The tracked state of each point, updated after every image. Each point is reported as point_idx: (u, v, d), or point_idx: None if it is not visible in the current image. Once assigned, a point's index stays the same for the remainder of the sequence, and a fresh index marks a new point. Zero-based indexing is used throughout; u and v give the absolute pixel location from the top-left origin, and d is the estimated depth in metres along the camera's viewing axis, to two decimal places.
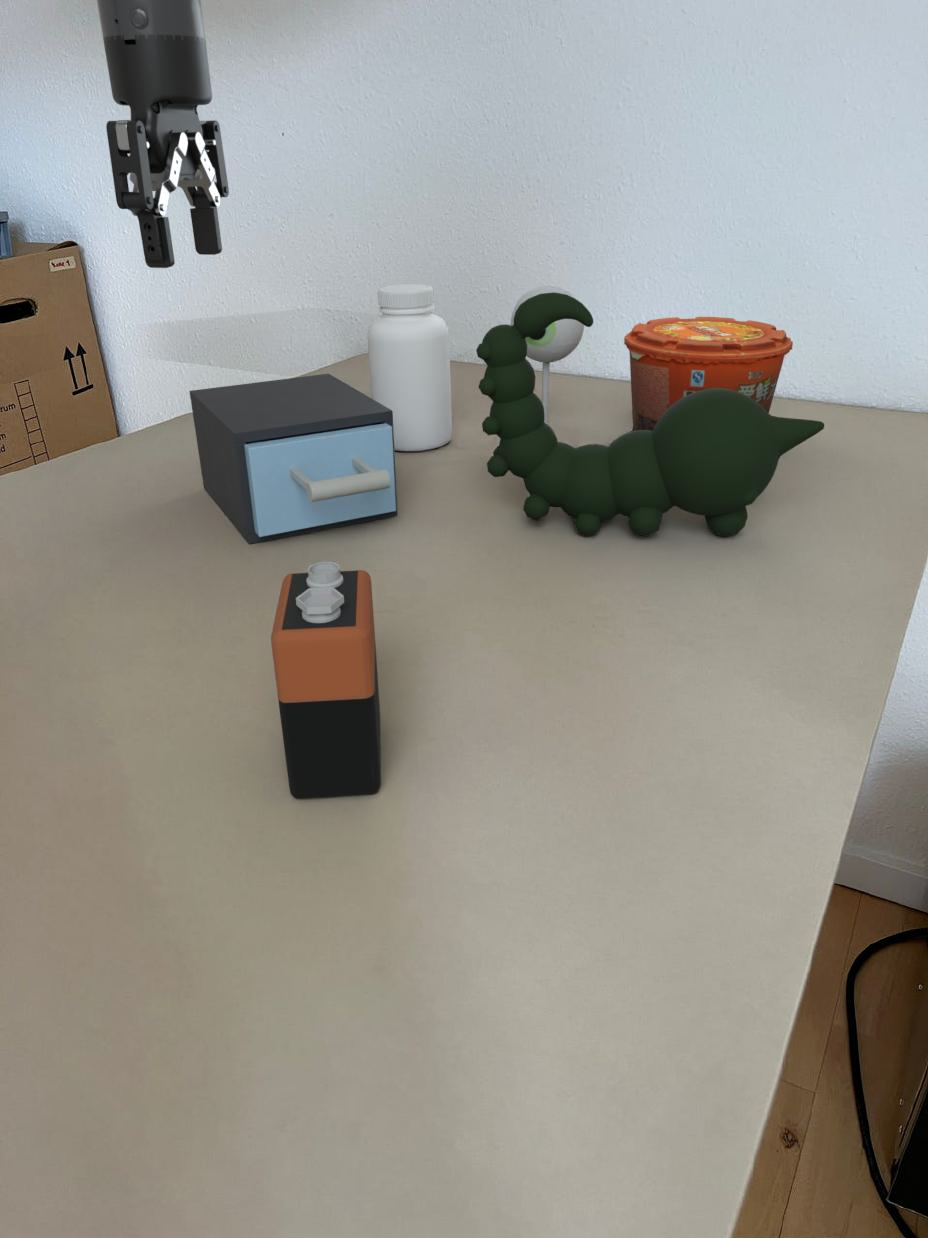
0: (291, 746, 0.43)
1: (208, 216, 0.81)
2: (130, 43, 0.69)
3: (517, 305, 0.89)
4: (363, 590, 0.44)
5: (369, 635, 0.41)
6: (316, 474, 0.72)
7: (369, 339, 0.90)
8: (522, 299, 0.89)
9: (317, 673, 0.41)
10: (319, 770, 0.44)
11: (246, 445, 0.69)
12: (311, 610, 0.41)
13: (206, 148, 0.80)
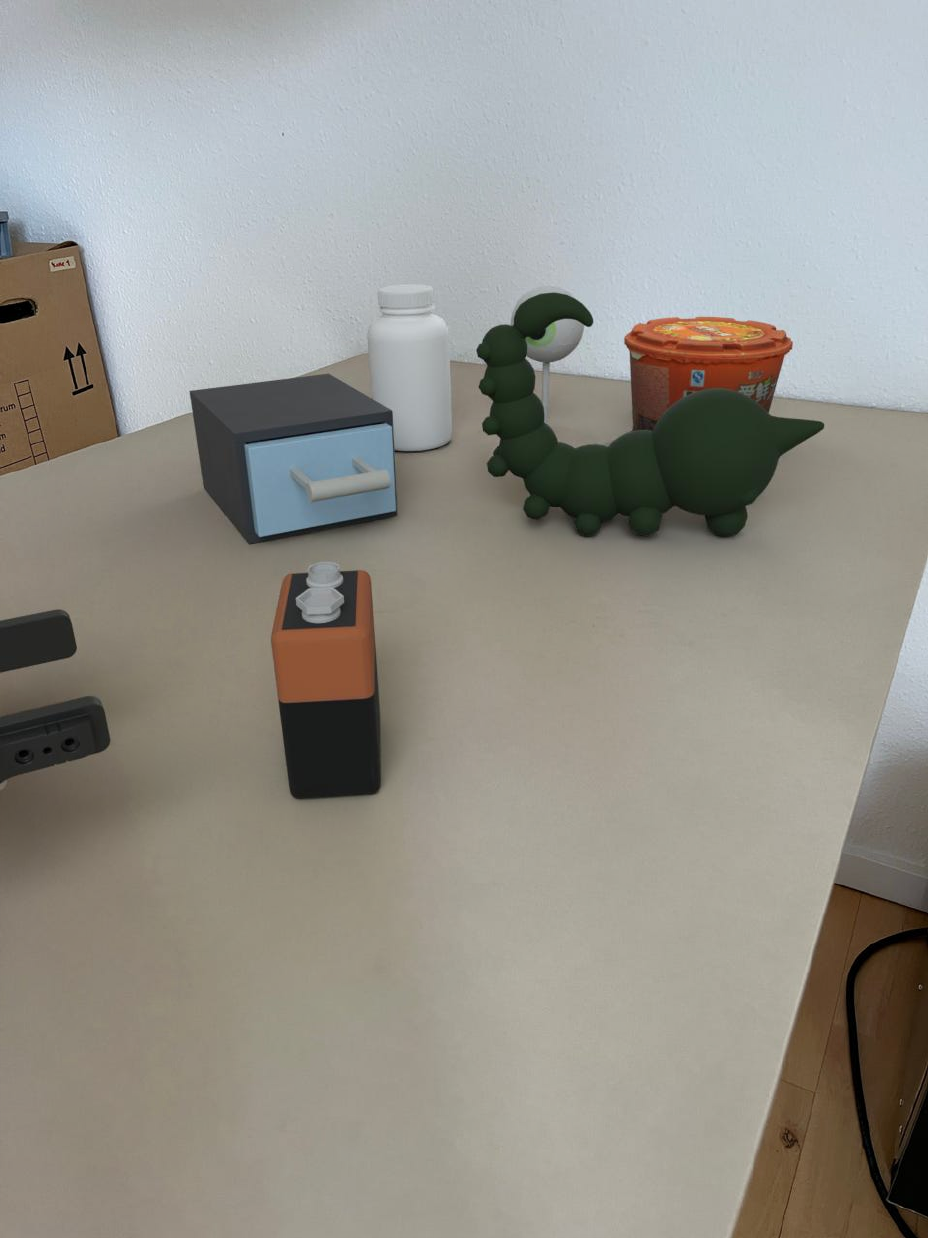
0: (291, 746, 0.43)
1: None
2: None
3: (517, 305, 0.89)
4: (363, 590, 0.44)
5: (369, 635, 0.41)
6: (316, 474, 0.72)
7: (369, 339, 0.90)
8: (522, 299, 0.89)
9: (317, 673, 0.41)
10: (319, 770, 0.44)
11: (246, 445, 0.69)
12: (311, 610, 0.41)
13: None
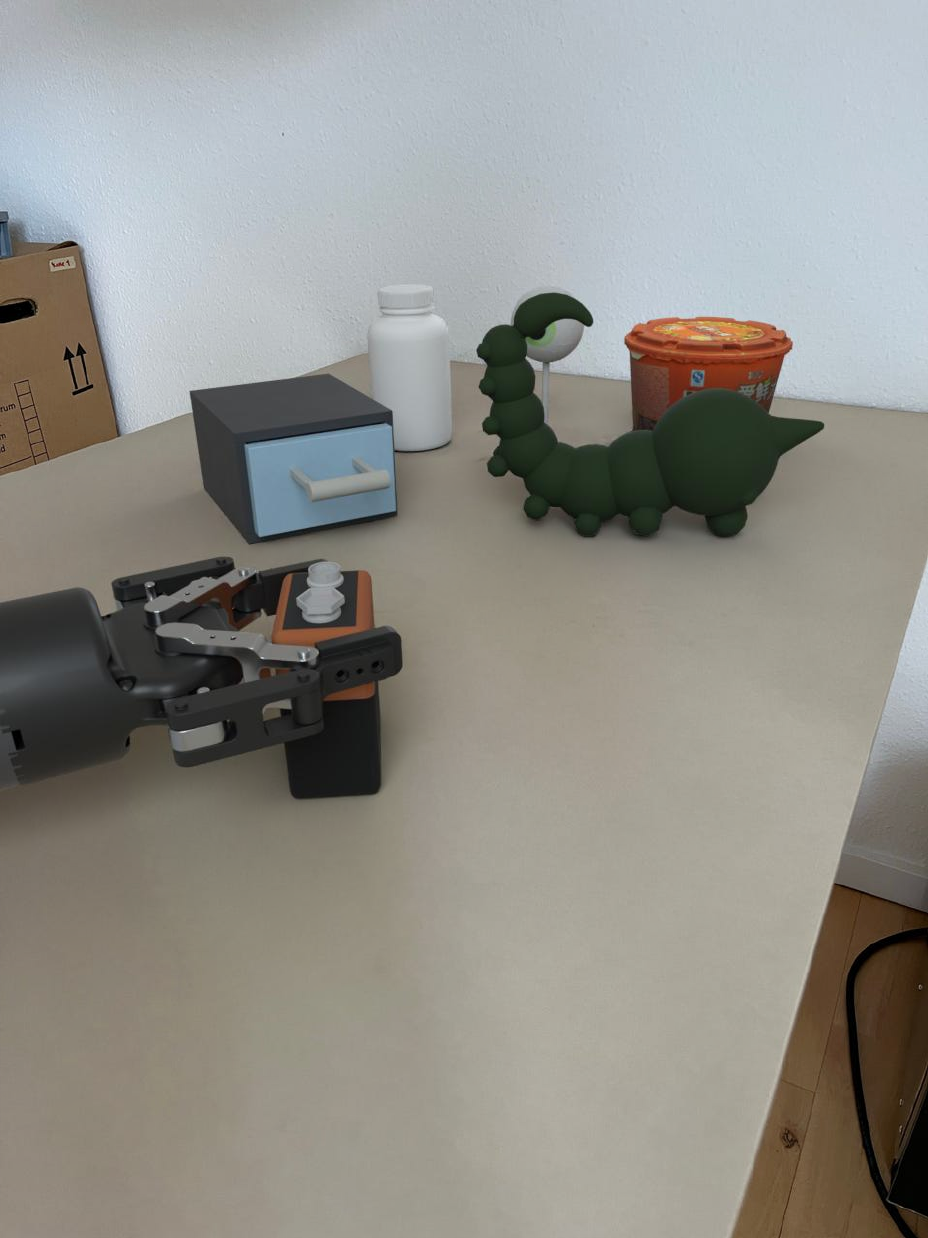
0: (292, 746, 0.43)
1: (276, 584, 0.46)
2: (20, 738, 0.36)
3: (517, 305, 0.89)
4: (364, 590, 0.44)
5: None
6: (316, 474, 0.72)
7: (369, 339, 0.90)
8: (522, 299, 0.89)
9: None
10: (320, 770, 0.44)
11: (246, 445, 0.69)
12: (311, 610, 0.41)
13: None
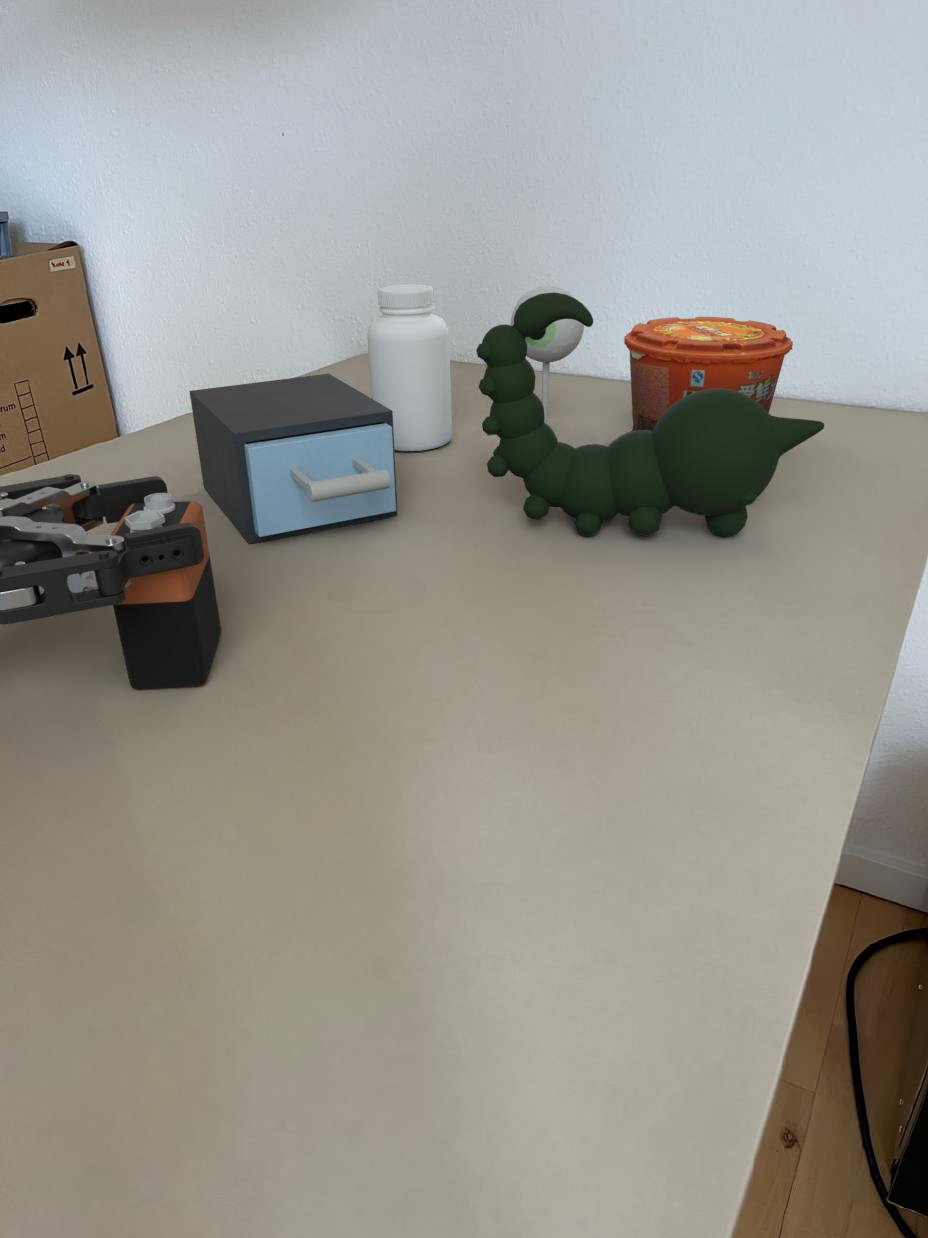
0: (126, 642, 0.52)
1: (113, 495, 0.55)
2: None
3: (517, 305, 0.89)
4: (189, 515, 0.53)
5: None
6: (316, 474, 0.72)
7: (369, 339, 0.90)
8: (522, 299, 0.89)
9: (141, 578, 0.50)
10: (151, 663, 0.53)
11: (246, 445, 0.69)
12: (134, 526, 0.50)
13: None
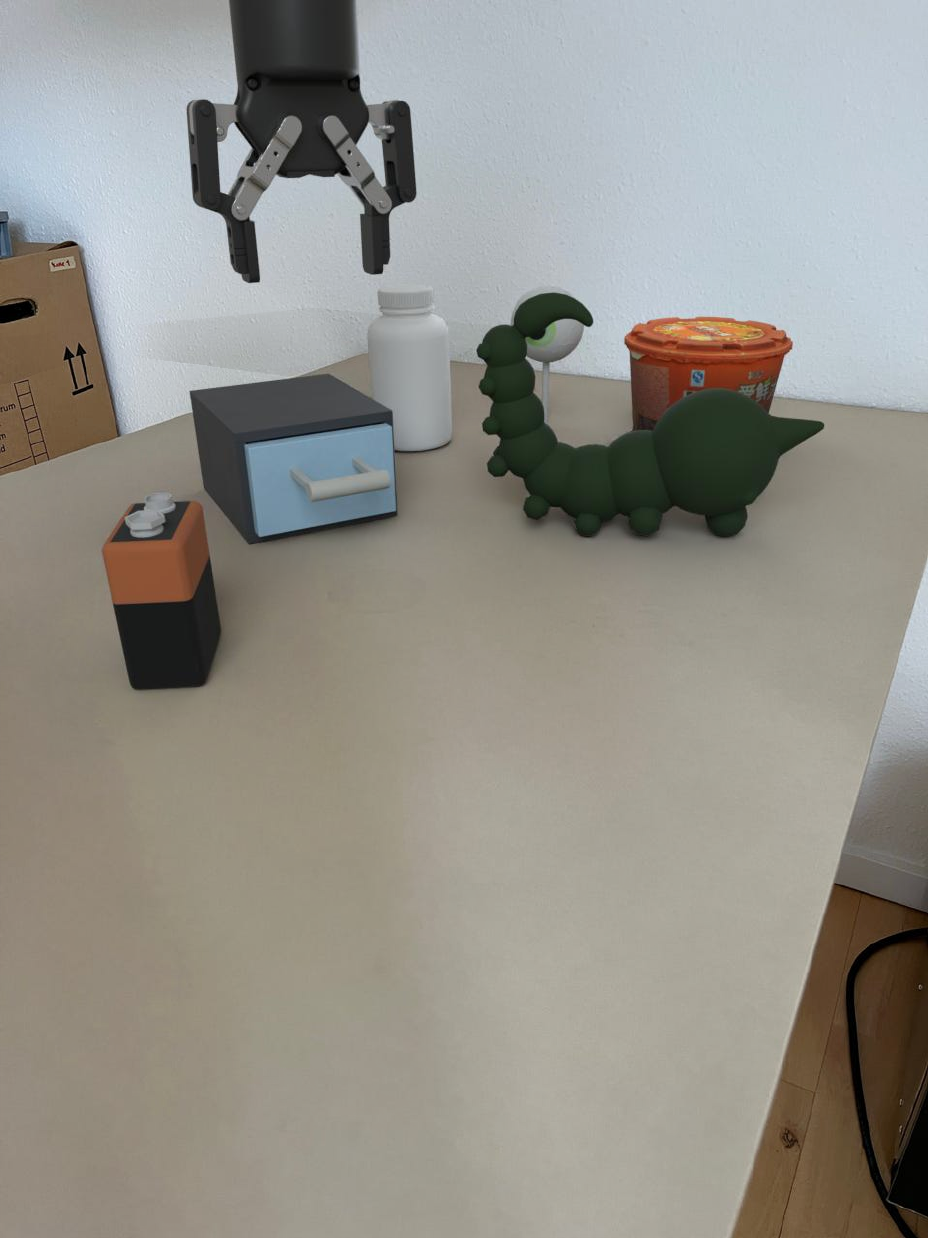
0: (126, 642, 0.52)
1: None
2: None
3: (517, 305, 0.89)
4: (189, 515, 0.53)
5: (183, 547, 0.50)
6: (316, 474, 0.72)
7: (369, 339, 0.90)
8: (522, 299, 0.89)
9: (141, 578, 0.50)
10: (151, 663, 0.53)
11: (246, 445, 0.69)
12: (134, 526, 0.50)
13: None
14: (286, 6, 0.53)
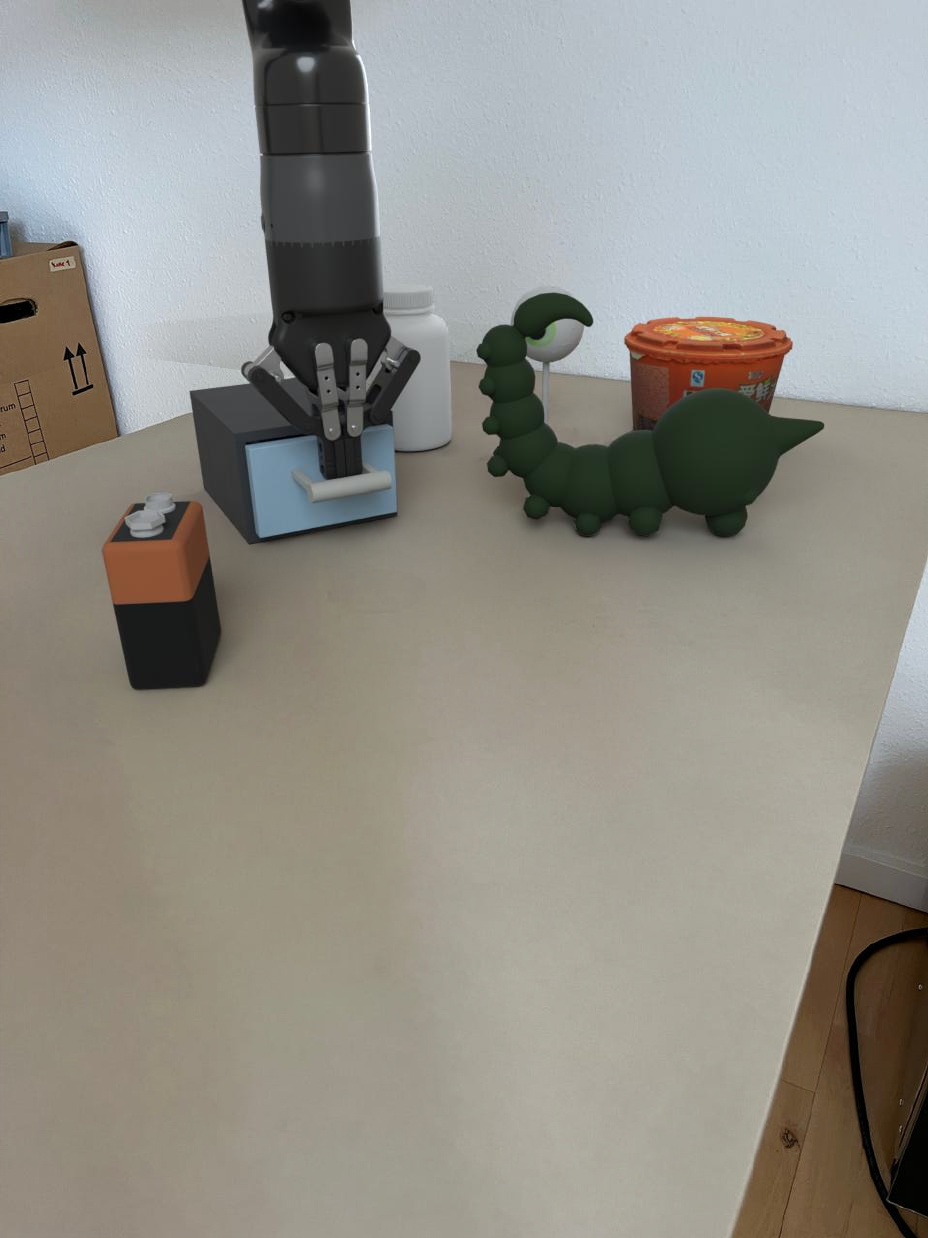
0: (126, 642, 0.52)
1: None
2: None
3: (517, 305, 0.89)
4: (189, 515, 0.53)
5: (183, 547, 0.50)
6: (317, 475, 0.71)
7: None
8: (522, 299, 0.89)
9: (141, 578, 0.50)
10: (151, 663, 0.53)
11: (247, 446, 0.69)
12: (134, 526, 0.50)
13: None
14: (319, 258, 0.58)
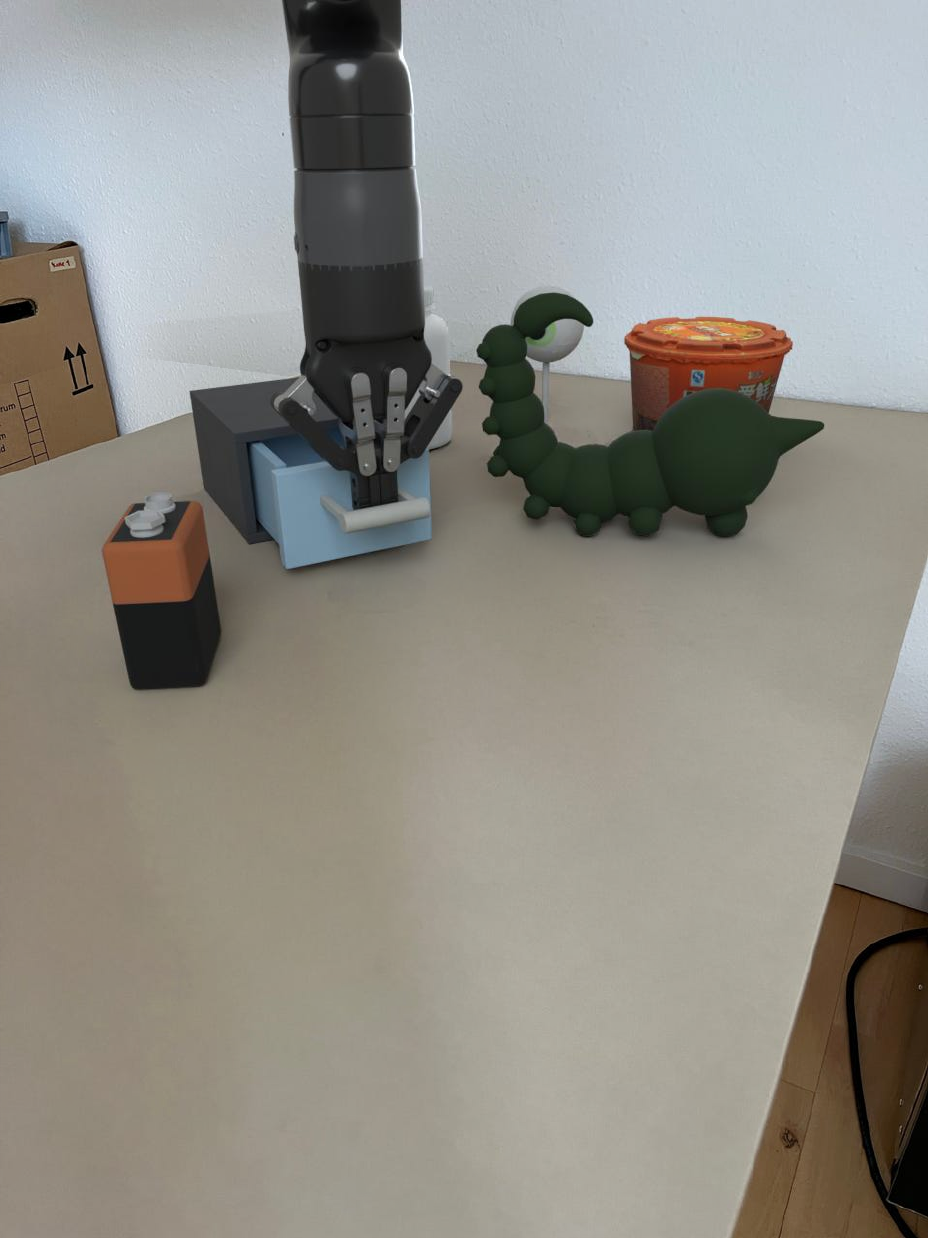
0: (126, 642, 0.52)
1: None
2: None
3: (517, 305, 0.89)
4: (189, 515, 0.53)
5: (183, 547, 0.50)
6: (348, 502, 0.66)
7: None
8: (522, 299, 0.89)
9: (141, 578, 0.50)
10: (151, 663, 0.53)
11: (273, 471, 0.64)
12: (134, 526, 0.50)
13: None
14: (359, 283, 0.54)
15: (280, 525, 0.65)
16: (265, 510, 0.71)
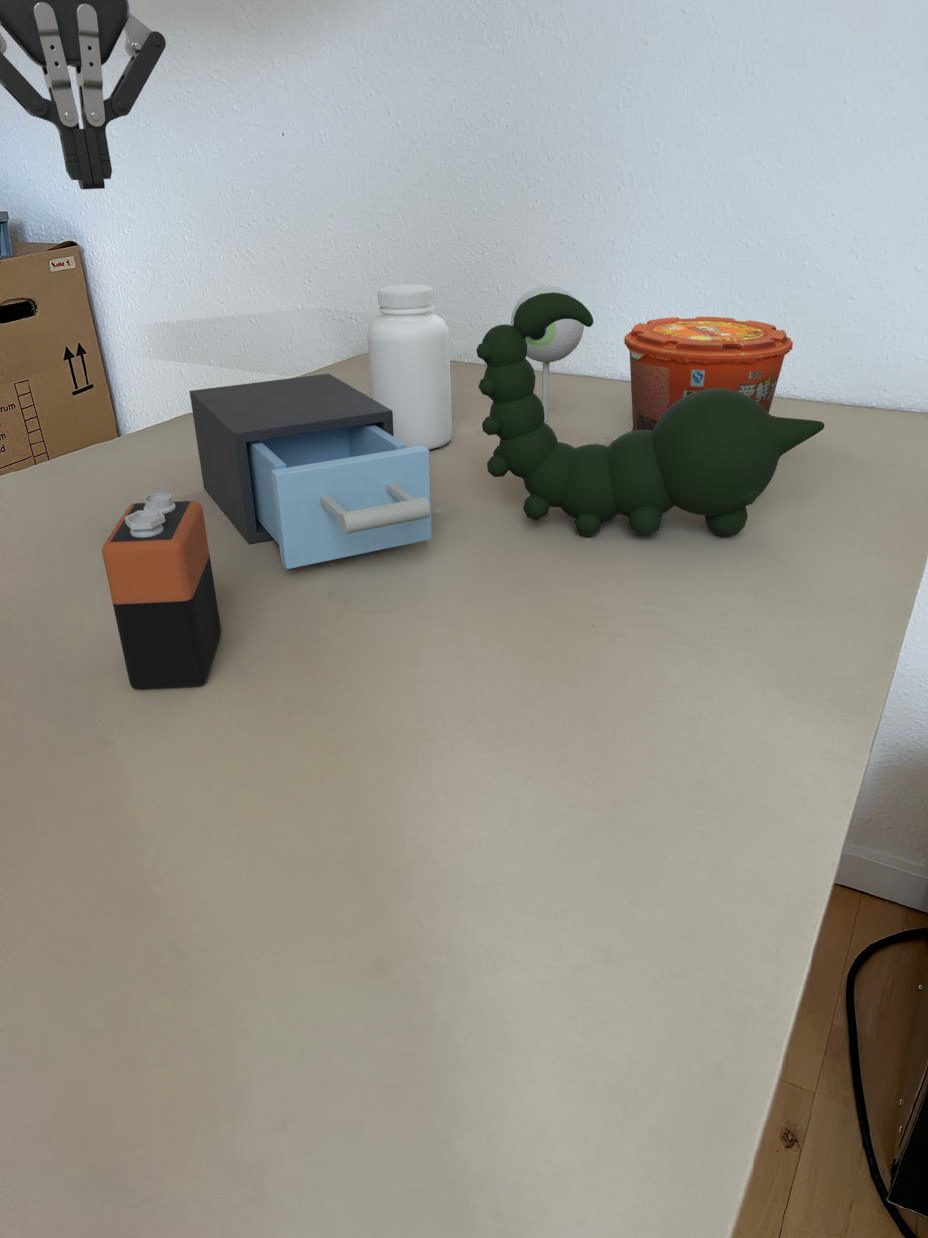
0: (126, 642, 0.52)
1: None
2: None
3: (517, 305, 0.89)
4: (189, 515, 0.53)
5: (183, 547, 0.50)
6: (348, 502, 0.66)
7: (369, 339, 0.90)
8: (522, 299, 0.89)
9: (141, 578, 0.50)
10: (151, 663, 0.53)
11: (273, 471, 0.64)
12: (134, 526, 0.50)
13: None
14: None
15: (280, 525, 0.65)
16: (265, 510, 0.71)
